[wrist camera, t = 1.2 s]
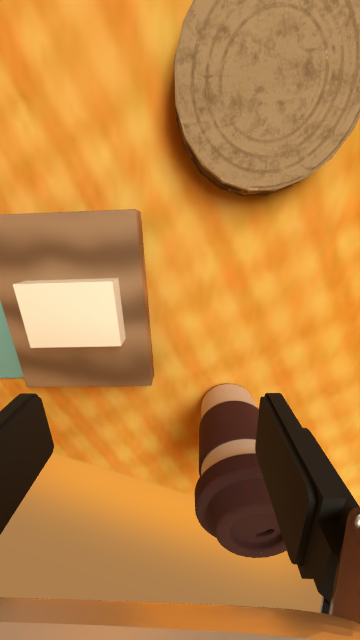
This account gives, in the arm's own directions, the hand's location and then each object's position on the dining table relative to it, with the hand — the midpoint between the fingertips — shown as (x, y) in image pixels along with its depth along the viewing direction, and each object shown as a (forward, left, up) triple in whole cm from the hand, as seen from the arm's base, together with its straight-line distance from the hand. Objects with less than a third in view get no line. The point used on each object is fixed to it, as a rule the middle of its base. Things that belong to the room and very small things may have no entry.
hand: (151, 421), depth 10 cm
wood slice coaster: (-19, +9, -19) cm, 29 cm away
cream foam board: (0, -11, -16) cm, 19 cm away
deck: (0, -11, -19) cm, 22 cm away
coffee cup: (+15, +7, -19) cm, 25 cm away
